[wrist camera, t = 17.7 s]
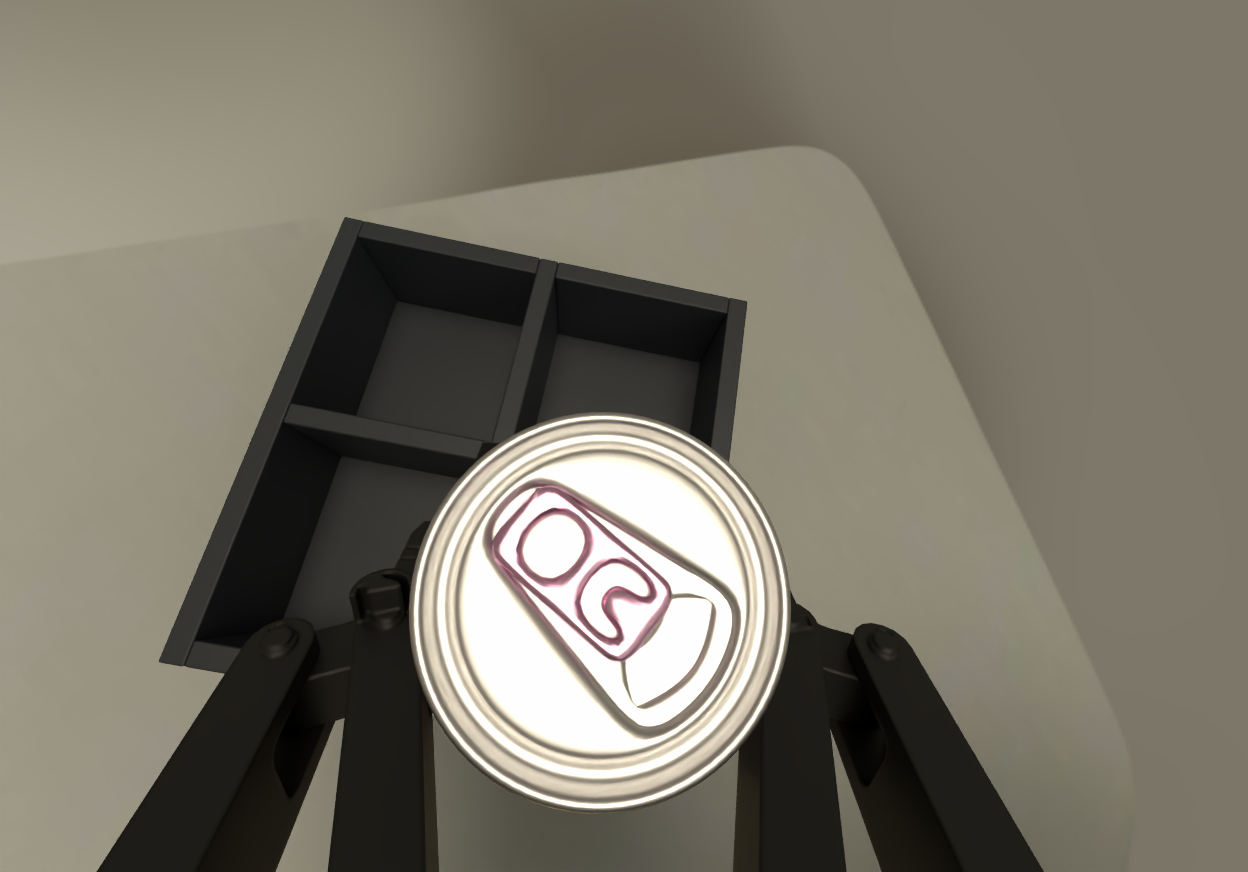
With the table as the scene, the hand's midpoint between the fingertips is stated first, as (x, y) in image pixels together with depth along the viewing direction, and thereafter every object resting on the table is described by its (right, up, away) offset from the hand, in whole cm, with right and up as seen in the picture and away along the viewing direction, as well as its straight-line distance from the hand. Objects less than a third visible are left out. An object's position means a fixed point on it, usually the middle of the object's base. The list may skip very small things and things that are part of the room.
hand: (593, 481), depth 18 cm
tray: (-4, -1, +7) cm, 8 cm away
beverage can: (-1, -5, +4) cm, 7 cm away
